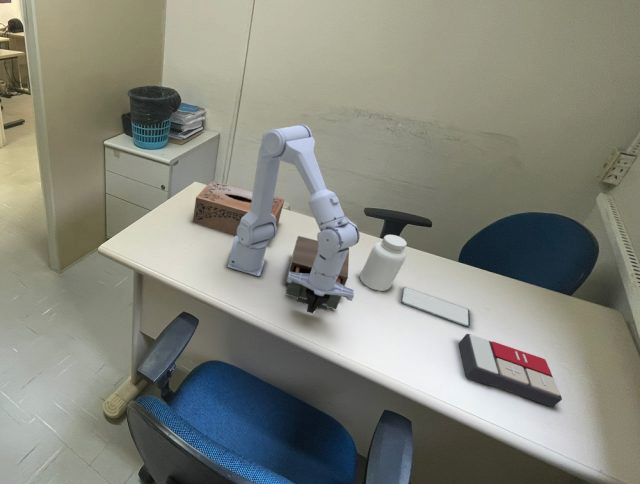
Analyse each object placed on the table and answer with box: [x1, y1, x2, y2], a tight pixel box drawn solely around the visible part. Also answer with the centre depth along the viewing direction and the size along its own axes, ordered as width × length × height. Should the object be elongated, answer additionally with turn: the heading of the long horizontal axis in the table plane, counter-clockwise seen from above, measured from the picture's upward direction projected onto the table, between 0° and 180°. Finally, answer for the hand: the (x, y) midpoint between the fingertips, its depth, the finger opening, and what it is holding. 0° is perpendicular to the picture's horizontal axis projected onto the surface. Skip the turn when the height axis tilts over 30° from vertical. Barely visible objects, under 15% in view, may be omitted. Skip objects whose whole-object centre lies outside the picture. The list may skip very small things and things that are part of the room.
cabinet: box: [284, 235, 350, 286], centre depth 112 cm, size 14×14×8 cm
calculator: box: [458, 333, 563, 408], centre depth 87 cm, size 11×4×15 cm
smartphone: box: [401, 287, 471, 327], centre depth 105 cm, size 7×1×15 cm
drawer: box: [285, 266, 342, 311], centre depth 106 cm, size 17×13×6 cm
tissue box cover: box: [192, 180, 285, 246], centre depth 135 cm, size 26×14×10 cm, turn 59°
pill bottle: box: [359, 234, 408, 292], centre depth 109 cm, size 8×8×15 cm
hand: (310, 310), depth 99 cm, fingers closed, pressing on drawer
